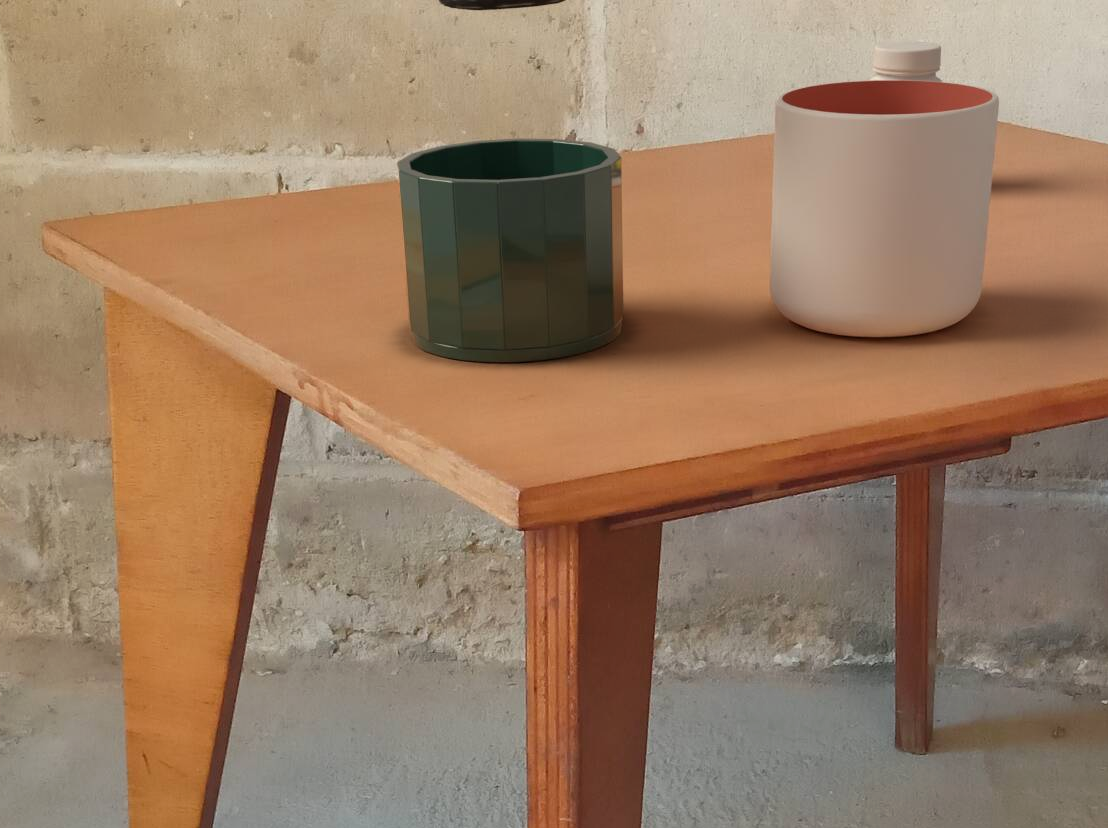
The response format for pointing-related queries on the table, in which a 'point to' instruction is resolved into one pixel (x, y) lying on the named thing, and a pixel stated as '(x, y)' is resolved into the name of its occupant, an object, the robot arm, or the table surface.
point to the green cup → (512, 248)
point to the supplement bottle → (907, 61)
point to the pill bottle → (495, 4)
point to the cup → (881, 204)
